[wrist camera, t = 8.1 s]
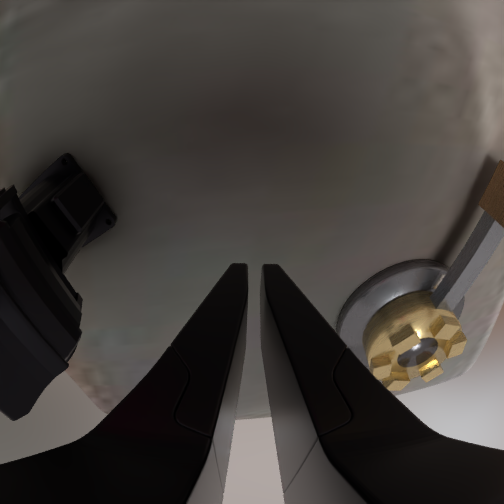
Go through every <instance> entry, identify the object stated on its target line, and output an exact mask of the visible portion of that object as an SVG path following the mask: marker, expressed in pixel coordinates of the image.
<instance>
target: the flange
mask: <svg viewBox="0 0 504 504" xmlns="http://www.w3.org/2000/svg"><path fill="white" fill-rule="evenodd" d="M448 270H449V268H448V267H447V266H446V265H444V264H442V263H440V262H437V261H433V260H425V259H422V260H412V261H406V262H403V263H399V264H396V265H394V266H391V267H389V268H387V269H385V270H383V271H381V272H379V273H377V274H376V275H374V276H373V277H371V278H370V279H368V280H367V281H366V282H364V283H363V284H362V285H361V286H360V287H359V288H358V289H357V290H356V291H355V292H354V293H353V294H352V295H351V296H350V297H349V299H348V300H347V302H346V303H345V305H344V306H343V308H342V310H341V312H340V315H339V318H338V322H337V333H338V335H339V336H340V338H341V339H342V340H343V341H344V342H345V344H346V345H347V348H350V349H351V350H352V352H353V353H354V354H355V355H356V356H357V358H358V359H359V360H360V361H361V362H362V363H363V364H364V366H366V367H369V364H368V360H367V357H366V354H365V351H364V347H363V344H362V336H363V332H364V330H365V328H366V326H367V324H368V323H369V321H370V320H371V319H372V318H373V317H374V315H375V314H376V313H377V312H379V311H380V310H381V309H382V308H384V307H385V306H386V305H388V304H389V303H391V302H393V301H394V300H396V299H398V298H400V297H403V296H405V295H408V294H411V293H415V292H422V291H430V292H434V291H435V289H436V288H437V286H438V285H439V284H440V282H441V281H442V279H443V278H444V276H445V275H446V273H447V272H448ZM463 305H464V296H463V298H462V299H461V300H460V302H459V303H458V304H457V305H456V307H455V308H454V309H453V313H454V314H455V316H456V318H457V319H459V317H460V315H461V312H462V310H463Z"/></svg>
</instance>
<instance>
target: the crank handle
mask: <svg viewBox="0 0 504 504" xmlns="http://www.w3.org/2000/svg"><path fill="white" fill-rule="evenodd" d="M478 205H479V206H480V207H482V208H483V209H484V210H485V211H484V213H483V215H482V217H481V219H480V220H479V222H478V224H477V226H476V227H475V229H474V231H473V232H472V234H471V236H470V237H469V239H468V241H467V242H466V244H465V246H464V247H463V249H462V250H461V252H460V254H459V255H458V257H457V258H456V260H455V261H454V263H453V264H452V266H451V267H450V269H449V270H448V272H447V273H446V275H445V276H444V278H443V279H442V281H441V282H440V284H439V285H438V286H437V288H436V289H435V291H434V292H430V291H422V292H415V293H411V294H408V295H405V296H403V297H400V298H398V299H396V300H394V301H393V302H391V303H389V304H388V305H386V306H385V307H384V308H382V309H381V310H380V311H379V312H377V313H376V314H375V315H374V317H373V318H372V319H371V320H370V321H369V323H368V324H367V326H366V328H365V330H364V332H363V336H362V344H363V347H364V351H365V354H366V357H367V360H368V364H369V367H370V372H371V373H372V374H373V375H374V376H375V377H376V378H377V379H379V380H381V381H382V383H383V385H384V386H385V387H386V388H387V389H388V390H400V391H401V390H402V389H403V388H404V387H405V386H406V385H407V384H408V383H409V382H410V379H412V378H415V377H418V376H420V375H421V377H422V379H423V380H424V381H425V382H428V381H430V380H432V379H433V378H435V377H437V376H438V375H440V374H442V373H443V369H442V367H441V365H440V363H442V362H443V361H444V360H445V359H446V358H447V359H448V358H451V357H454V356H456V355H459V354H462V352H463V349H464V347H465V344H466V342H467V339H466V337H465V335H464V333H463V332H462V328H461V325H460V323H459V321H458V319H457V318H456V316H455V314H454V313H453V309H454V308H455V307H456V305H457V304H458V303H459V302H460V300H461V299H462V298H463V296H464V295H465V293H466V292H467V291H468V289H469V288H470V287H471V285H472V284H473V282H474V281H475V280H476V278H477V277H478V275H479V274H480V272H481V271H482V269H483V268H484V266H485V265H486V263H487V262H488V260H489V259H490V257H491V256H492V254H493V253H494V251H495V249H496V248H497V246H498V245H499V243H500V241H501V240H502V238H503V236H504V162H503V161H502V160H500V161H499V164H498V166H497V168H496V170H495V172H494V174H493V176H492V178H491V180H490V182H489V184H488V186H487V188H486V190H485V192H484V194H483V196H482V198H481V200H480V202H479V204H478Z"/></svg>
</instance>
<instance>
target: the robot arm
mask: <svg viewBox="0 0 504 504" xmlns="http://www.w3.org/2000/svg"><path fill="white" fill-rule="evenodd" d="M64 159H66V160H67V163H65V162H64ZM16 193H17V190H16V188H15V186H14V185H12V186H10V187H9V188H7V189H5V187H4V188H2V189H1V190H0V411H1V412H2V413H3V414H4V415H5V416H7V417H8V418H9V419H10V420H12V421H15V420H18V419H19V418H21V417H23V416H25V415H26V414H28V413H29V412H30V410H31V409H32V407H33V406H34V404H35V402H36V401H37V399H38V398H39V396H40V395H41V393H42V392H43V390H44V389H45V388H46V387H47V385H48V384H49V383H50V382H51V381H52V380H53V379H54V378H55V377H56V376H58V375H59V374H61V373H62V372H63V371H65V370H66V369H67V368H68V367H69V364H68V363H67V362H68V361H69V359H70V358H71V357H72V355H73V353H74V352H75V349H76V347H77V344H78V342H79V340H80V338H81V334H82V331H81V329H80V328H79V326H80V321H81V316H82V313H81V308H82V301H83V299H82V298H81V296H80V295H79V293H76V292H75V290H74V289H73V287H72V286H71V284H70V283H69V281H68V280H67V279H66V277H65V276H64V273H65V271H66V270H67V268H68V267H69V265H70V264H71V262H72V261H73V259H74V258H75V256H76V255H77V253H78V252H79V250H80V249H81V248H82V247H83V246H85V245H86V244H88V243H89V242H91V241H92V240H94V239H95V238H97V237H98V236H100V235H101V234H103V233H104V232H106V231H108V230H109V229H111V228H112V227H113V226H114V225H115V224H116V221H117V219H116V217H115V215H114V214H113V213H112V211H111V210H110V209H109V207H108V206H107V205H106V203H105V202H104V200H103V198H102V197H101V195H100V194H99V193H98V191H97V190H96V189H95V187H94V186H93V185H92V183H91V182H90V180H89V179H88V178H87V176H86V175H85V174H84V173H83V172H82V171H81V169H80V168H79V166H78V165H77V164H76V162H75V161H74V159H73V158H72V156H71V155H70V154H63V155H62V156H61V157H59V158H58V159H57V160H56V161H55V162H54V163H53V164H52V165H51V166H50V167H49V168H48V169H47V170H45V171H44V172H43V173H42V174H41V175H40V176H39V177H38V178H37V179H36V180H35V181H34V182H33V183H32V184H31V185H30V186H29V187H28V188H27V189H26V190H25V191H24V193H23V194H22V195H21V196H20V197H19V198H18V196H17V194H16ZM107 219H110V220H111V221H112V222H109V221H108V220H107ZM247 308H248V265H247V264H245V263H232V264H231V265H230V266H229V268H228V269H227V270H226V271H225V273H224V274H223V275H222V277H221V278H220V279H219V281H218V282H217V283H216V285H215V286H214V287H213V289H212V290H211V291H210V293H209V294H208V295H207V297H206V298H205V299H204V301H203V302H202V303H201V304H200V306H199V307H198V308H197V310H196V311H195V312H194V314H193V315H192V316H191V318H190V319H189V320H188V322H187V323H186V324H185V326H184V327H183V328H182V330H181V331H180V332H179V334H178V335H177V336H176V338H175V339H174V340H173V342H172V343H171V346H169V347H168V348H167V349H166V351H165V352H164V354H163V355H162V356H161V358H160V359H159V360H158V361H157V363H156V364H155V365H154V366H153V367H152V369H151V370H150V371H149V372H148V374H147V375H146V376H145V377H144V378H143V379H142V380H141V381H140V382H139V383H138V384H137V385H136V387H135V388H134V389H133V390H132V391H131V392H130V393H129V394H128V395H127V396H126V397H125V398H124V399H123V400H122V401H121V402H120V403H119V404H118V405H117V406H116V407H115V408H114V409H113V410H112V411H111V412H110V413H109V414H108V415H107V416H106V417H105V418H104V419H103V420H102V421H101V422H100V423H99V424H98V425H97V426H96V427H95V428H94V429H93V430H91V431H90V432H89V433H88V434H86V435H85V436H83V437H82V438H80V439H78V440H76V441H74V442H72V443H69V444H66V445H63V446H60V447H57V448H55V449H51V450H48V451H45V452H42V453H38V454H35V455H32V456H29V457H25V458H22V459H18V460H15V461H11V462H8V463H4V464H0V504H222V501H223V493H224V488H225V482H226V475H227V468H228V462H229V456H230V449H231V443H232V436H233V430H234V423H235V417H236V410H237V404H238V397H239V390H240V384H241V377H242V370H243V364H244V357H245V349H246V332H247ZM260 322H261V349H262V357H263V364H264V370H265V377H266V384H267V390H268V397H269V403H270V410H271V417H272V423H273V430H274V436H275V443H276V449H277V456H278V462H279V469H280V475H281V482H282V488H283V493H284V501H285V504H504V450H500V449H495V448H489V447H485V446H481V445H477V444H473V443H468V442H464V441H460V440H456V439H453V438H449V437H446V436H443V435H441V434H439V433H437V432H435V431H434V430H432V429H431V428H429V427H428V426H427V425H425V424H424V423H423V422H422V421H420V419H418V418H417V417H416V416H415V415H414V414H413V413H412V412H411V411H410V410H409V409H408V408H407V407H406V406H405V405H404V404H403V403H402V402H401V401H399V400H398V399H397V398H396V397H395V396H394V395H393V394H392V393H391V392H390V391H389V390H388V389H387V388H386V387H385V386H384V385H383V384H382V383H381V382H380V381H379V380H378V379H377V378H376V377H375V376H374V375H373V374H372V373H371V372H370V371H369V370H368V369H367V368H366V367H365V366H364V364H363V363H362V362H361V361H360V360H359V359H358V358H357V356H356V355H355V354H354V353H353V352H352V350H351V349H350V348H347V345H346V344H345V342H344V341H343V340H342V339H341V338H340V336H339V335H338V334H337V333H336V332H335V330H334V329H333V328H332V327H331V326H330V325H329V323H328V322H327V321H326V320H325V319H324V317H323V316H322V315H321V314H320V313H319V311H318V310H317V309H316V308H315V307H314V306H313V304H312V303H311V302H310V301H309V300H308V299H307V297H306V296H305V295H304V294H303V293H302V291H301V290H300V289H299V288H298V287H297V286H296V284H295V283H294V282H293V281H292V280H291V279H290V277H289V276H288V275H287V274H286V273H285V271H284V270H283V269H282V268H281V267H280V266H279V265H278V264H263V266H262V273H261V287H260Z"/></svg>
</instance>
